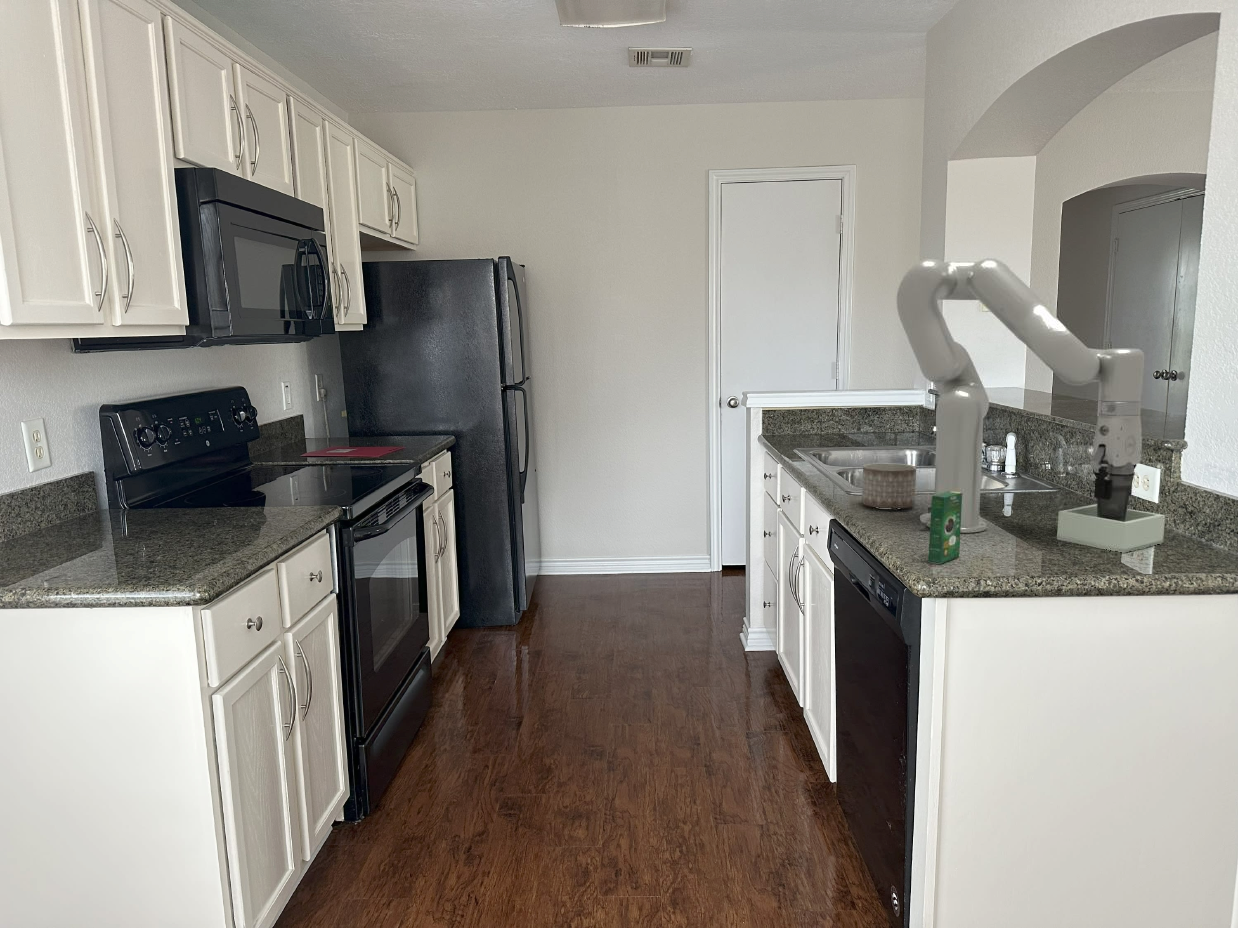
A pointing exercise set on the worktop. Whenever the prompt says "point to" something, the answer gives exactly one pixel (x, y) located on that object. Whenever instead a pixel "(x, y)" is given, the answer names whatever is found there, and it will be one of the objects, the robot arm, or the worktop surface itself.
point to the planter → (889, 485)
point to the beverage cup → (1117, 493)
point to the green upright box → (945, 527)
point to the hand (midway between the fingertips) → (1112, 495)
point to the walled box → (1110, 529)
